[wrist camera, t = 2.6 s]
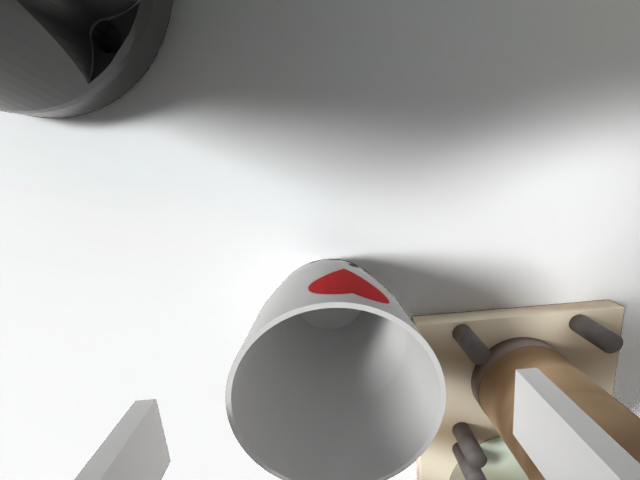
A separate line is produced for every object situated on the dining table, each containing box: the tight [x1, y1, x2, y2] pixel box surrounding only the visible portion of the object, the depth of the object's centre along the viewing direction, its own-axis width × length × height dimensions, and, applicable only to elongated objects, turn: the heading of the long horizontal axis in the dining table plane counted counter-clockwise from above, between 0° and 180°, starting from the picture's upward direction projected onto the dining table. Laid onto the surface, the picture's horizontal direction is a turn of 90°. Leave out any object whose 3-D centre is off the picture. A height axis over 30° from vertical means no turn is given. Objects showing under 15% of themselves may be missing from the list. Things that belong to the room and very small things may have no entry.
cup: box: [226, 259, 446, 480], centre depth 17 cm, size 8×8×10 cm
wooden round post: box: [471, 337, 640, 480], centre depth 19 cm, size 6×6×6 cm
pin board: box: [412, 300, 624, 480], centre depth 23 cm, size 18×13×4 cm
